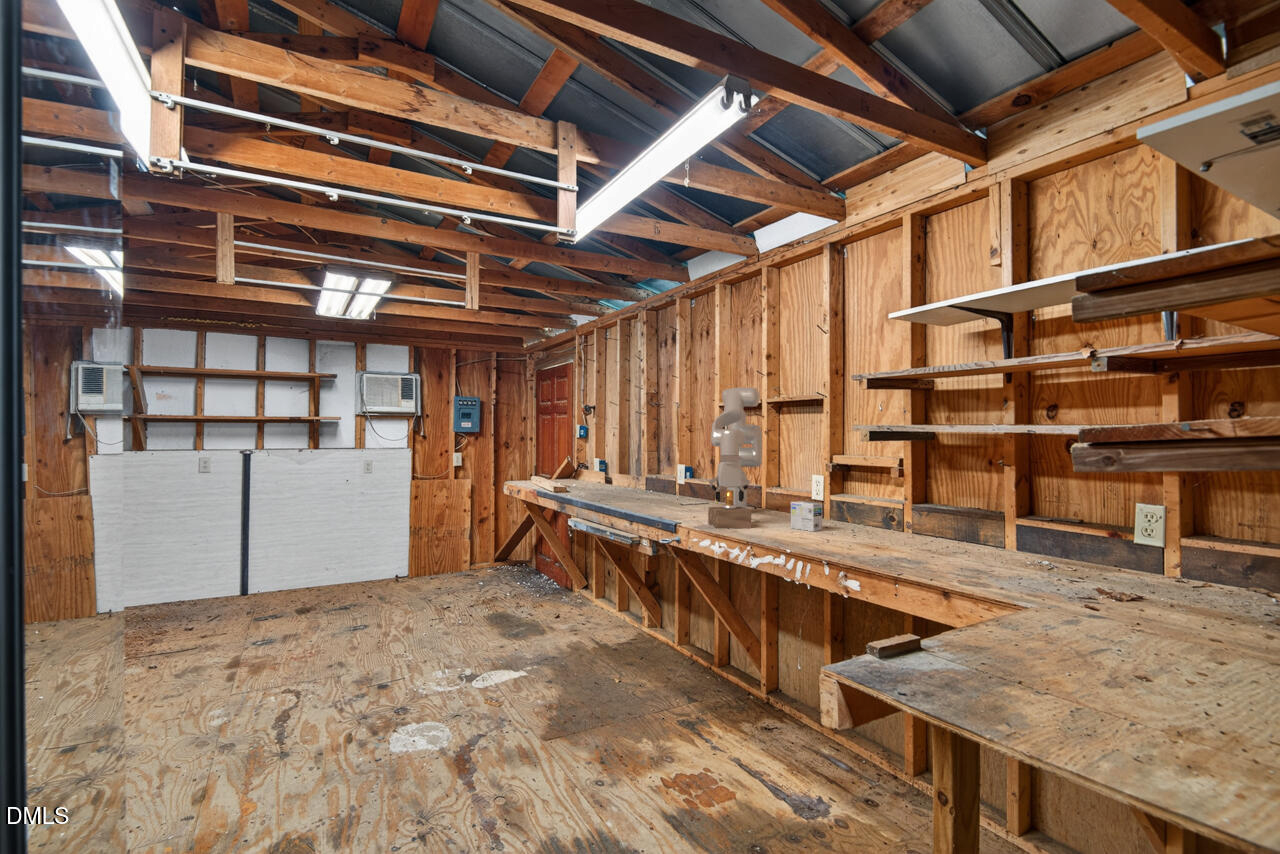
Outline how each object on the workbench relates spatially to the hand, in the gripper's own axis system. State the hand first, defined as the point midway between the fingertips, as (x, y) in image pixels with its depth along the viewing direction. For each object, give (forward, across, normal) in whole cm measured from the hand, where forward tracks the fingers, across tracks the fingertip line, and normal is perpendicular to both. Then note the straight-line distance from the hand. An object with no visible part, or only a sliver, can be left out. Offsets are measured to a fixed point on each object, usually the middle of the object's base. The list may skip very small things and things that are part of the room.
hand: (729, 501), depth 244 cm
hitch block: (+10, 0, 0) cm, 10 cm away
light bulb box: (+10, -28, +12) cm, 32 cm away
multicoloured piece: (+9, 0, 0) cm, 9 cm away
